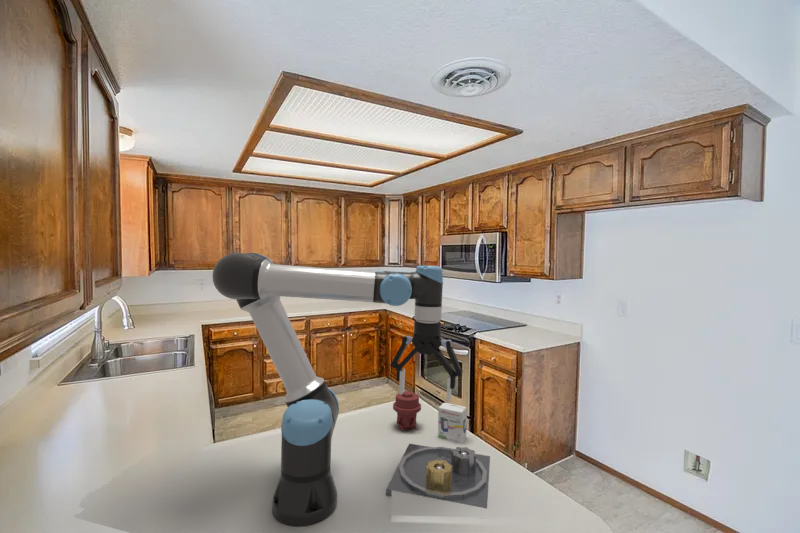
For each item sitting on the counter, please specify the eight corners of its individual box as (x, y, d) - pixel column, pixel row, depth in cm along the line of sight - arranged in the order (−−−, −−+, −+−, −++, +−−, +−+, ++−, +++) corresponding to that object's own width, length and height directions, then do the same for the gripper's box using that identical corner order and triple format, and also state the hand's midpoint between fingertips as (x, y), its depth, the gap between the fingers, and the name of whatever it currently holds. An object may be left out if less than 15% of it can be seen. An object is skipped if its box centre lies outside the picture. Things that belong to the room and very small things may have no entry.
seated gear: (477, 475, 104) (478, 459, 103) (453, 474, 104) (453, 458, 103) (472, 462, 110) (473, 447, 110) (450, 462, 110) (450, 446, 110)
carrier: (486, 514, 90) (487, 489, 90) (386, 494, 96) (386, 471, 96) (489, 461, 114) (490, 441, 114) (409, 448, 121) (409, 429, 120)
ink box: (466, 442, 126) (467, 406, 126) (461, 448, 121) (462, 412, 121) (442, 435, 130) (443, 401, 130) (436, 442, 125) (437, 406, 125)
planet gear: (452, 478, 102) (453, 462, 102) (449, 493, 95) (450, 475, 95) (428, 474, 103) (429, 458, 103) (424, 488, 97) (424, 470, 97)
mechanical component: (394, 420, 141) (421, 422, 140) (390, 432, 131) (419, 434, 130) (395, 387, 141) (422, 389, 140) (391, 397, 131) (420, 398, 130)
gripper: (474, 322, 106) (471, 398, 106) (390, 315, 114) (387, 386, 114) (470, 327, 99) (467, 407, 99) (381, 318, 106) (378, 394, 107)
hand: (424, 396), depth 106 cm, fingers open, 13 cm apart
